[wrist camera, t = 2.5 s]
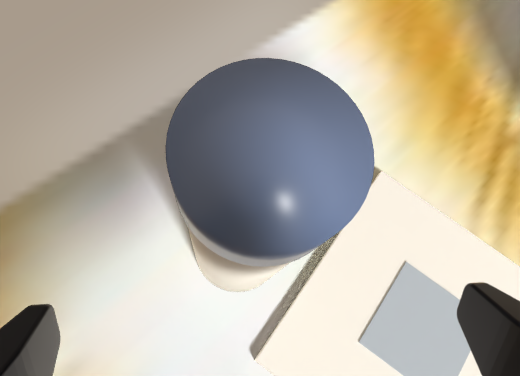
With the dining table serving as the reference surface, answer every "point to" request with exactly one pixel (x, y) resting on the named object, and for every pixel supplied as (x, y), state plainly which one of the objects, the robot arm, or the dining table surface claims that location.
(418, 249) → the cream square base plate
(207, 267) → the blue capped bottle
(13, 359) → the robot arm
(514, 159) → the dining table surface
